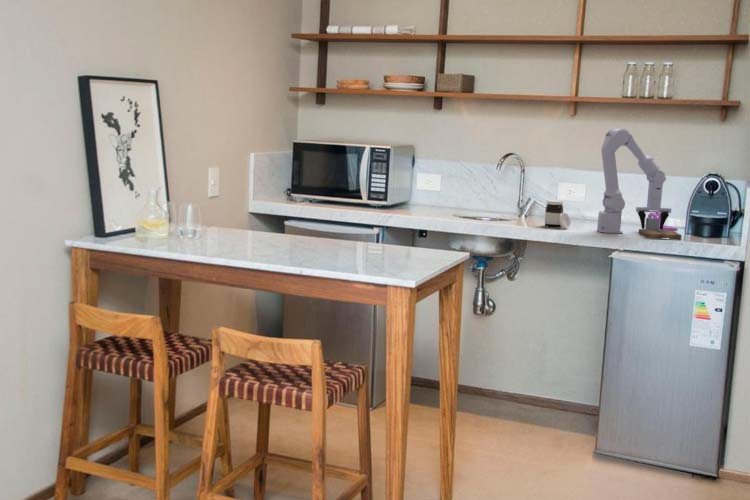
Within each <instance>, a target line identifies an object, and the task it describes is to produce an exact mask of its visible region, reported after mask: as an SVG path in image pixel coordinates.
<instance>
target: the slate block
mask: <svg viewBox="0 0 750 500" xmlns="http://www.w3.org/2000/svg"><path fill="white" fill-rule="evenodd" d="M657 218H658V217H657ZM657 218H653V217H652V218H648V217H645V228H644V229H652V230H660V229H659V219H657Z"/></svg>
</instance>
